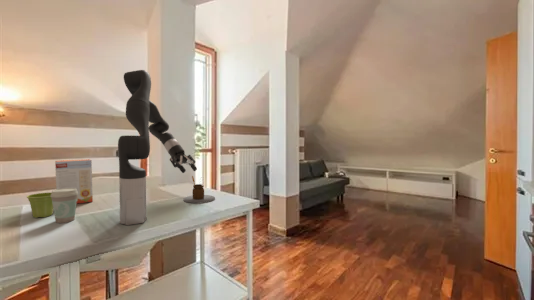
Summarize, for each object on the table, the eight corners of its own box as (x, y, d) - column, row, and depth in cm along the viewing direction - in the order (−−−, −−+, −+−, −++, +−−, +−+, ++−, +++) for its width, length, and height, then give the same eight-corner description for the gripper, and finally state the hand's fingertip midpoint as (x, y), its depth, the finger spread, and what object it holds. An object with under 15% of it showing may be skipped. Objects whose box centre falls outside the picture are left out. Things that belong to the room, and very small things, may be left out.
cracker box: (91, 199, 136) (90, 158, 134) (92, 202, 131) (92, 159, 130) (56, 203, 127) (55, 160, 126) (56, 206, 122) (55, 161, 121)
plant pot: (22, 217, 106) (21, 195, 105) (49, 211, 115) (48, 191, 114) (35, 220, 102) (34, 198, 102) (62, 214, 111) (62, 193, 110)
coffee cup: (45, 222, 100) (44, 191, 99) (68, 216, 108) (67, 187, 108) (61, 225, 98) (61, 193, 97) (84, 218, 106) (83, 188, 105)
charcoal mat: (219, 200, 138) (219, 199, 138) (189, 204, 129) (189, 203, 129) (208, 194, 151) (208, 193, 151) (179, 198, 142) (179, 196, 142)
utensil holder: (206, 198, 139) (206, 175, 138) (194, 200, 135) (194, 176, 134) (201, 196, 144) (201, 174, 143) (190, 198, 140) (190, 175, 139)
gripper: (167, 144, 139) (184, 167, 134) (187, 143, 151) (202, 165, 147) (160, 154, 141) (176, 177, 137) (180, 152, 154) (195, 174, 150)
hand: (190, 171), depth 142 cm, fingers open, 8 cm apart
